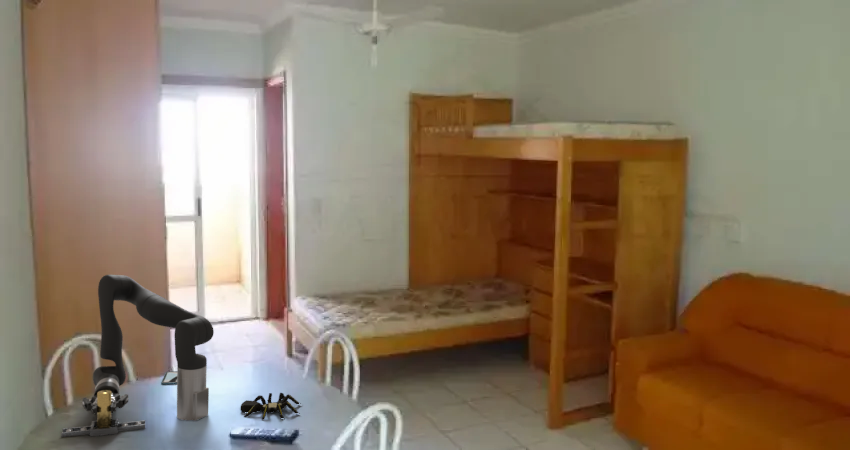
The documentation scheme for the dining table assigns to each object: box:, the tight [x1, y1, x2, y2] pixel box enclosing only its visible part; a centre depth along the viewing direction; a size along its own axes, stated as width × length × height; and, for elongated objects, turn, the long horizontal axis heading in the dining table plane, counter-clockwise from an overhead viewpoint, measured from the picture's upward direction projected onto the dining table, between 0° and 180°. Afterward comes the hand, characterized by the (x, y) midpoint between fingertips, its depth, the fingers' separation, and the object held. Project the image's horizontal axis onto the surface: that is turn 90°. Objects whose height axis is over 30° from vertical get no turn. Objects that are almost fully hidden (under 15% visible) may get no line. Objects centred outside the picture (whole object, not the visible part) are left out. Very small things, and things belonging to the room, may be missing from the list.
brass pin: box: [96, 390, 112, 429], centre depth 209 cm, size 4×4×11 cm
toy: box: [240, 392, 300, 420], centre depth 232 cm, size 18×21×5 cm
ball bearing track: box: [60, 418, 146, 438], centre depth 209 cm, size 24×8×2 cm, turn 113°
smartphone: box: [160, 370, 177, 386], centre depth 260 cm, size 7×1×15 cm
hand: (103, 410), depth 206 cm, fingers closed on brass pin, 4 cm apart
